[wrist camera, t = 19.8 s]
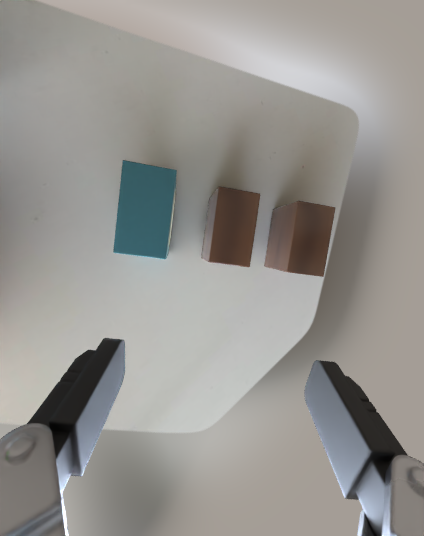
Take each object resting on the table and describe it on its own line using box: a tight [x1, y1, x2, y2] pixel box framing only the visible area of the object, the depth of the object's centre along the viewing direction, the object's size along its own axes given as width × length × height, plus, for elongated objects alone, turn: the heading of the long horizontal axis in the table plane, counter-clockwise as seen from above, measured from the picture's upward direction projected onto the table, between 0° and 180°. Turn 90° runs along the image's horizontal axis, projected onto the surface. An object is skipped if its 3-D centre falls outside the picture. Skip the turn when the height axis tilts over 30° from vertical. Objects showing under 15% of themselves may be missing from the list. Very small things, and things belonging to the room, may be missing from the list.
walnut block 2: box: [264, 201, 335, 277], centre depth 31 cm, size 5×8×7 cm, turn 172°
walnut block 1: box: [201, 186, 260, 267], centre depth 29 cm, size 5×8×7 cm, turn 172°
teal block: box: [113, 160, 177, 259], centre depth 26 cm, size 5×8×10 cm, turn 172°
